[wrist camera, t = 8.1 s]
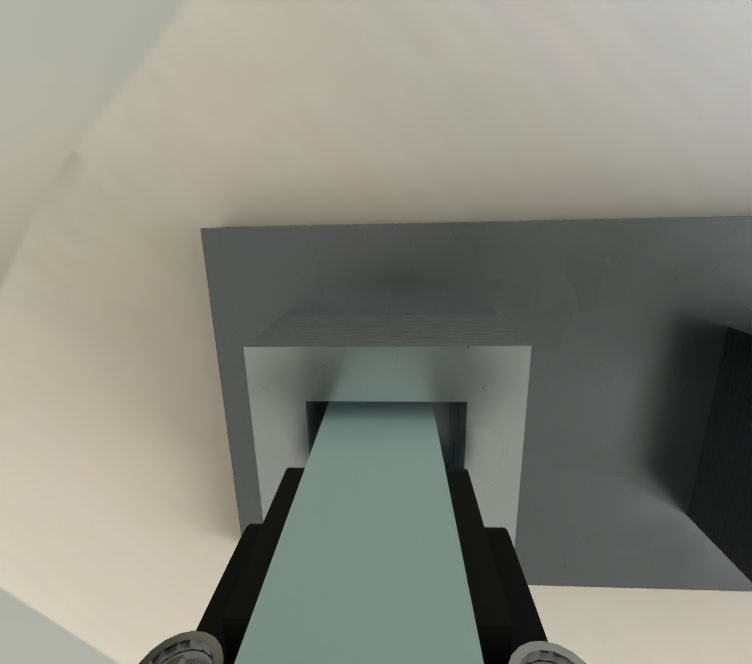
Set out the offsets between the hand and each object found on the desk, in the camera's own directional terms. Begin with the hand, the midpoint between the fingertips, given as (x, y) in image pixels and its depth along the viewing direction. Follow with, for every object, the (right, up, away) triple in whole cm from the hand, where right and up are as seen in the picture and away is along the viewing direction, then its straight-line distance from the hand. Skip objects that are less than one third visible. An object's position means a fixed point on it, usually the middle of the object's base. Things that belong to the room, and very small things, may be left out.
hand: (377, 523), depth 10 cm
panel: (+7, +2, +6) cm, 10 cm away
